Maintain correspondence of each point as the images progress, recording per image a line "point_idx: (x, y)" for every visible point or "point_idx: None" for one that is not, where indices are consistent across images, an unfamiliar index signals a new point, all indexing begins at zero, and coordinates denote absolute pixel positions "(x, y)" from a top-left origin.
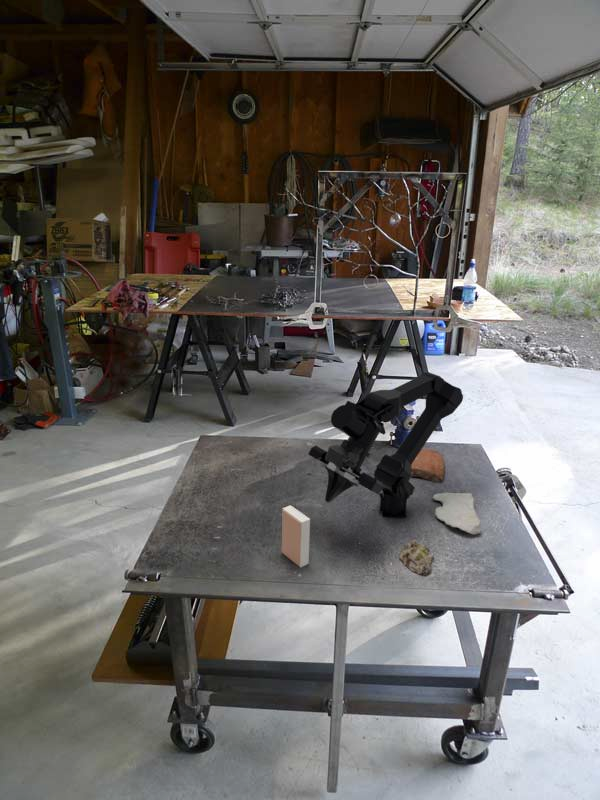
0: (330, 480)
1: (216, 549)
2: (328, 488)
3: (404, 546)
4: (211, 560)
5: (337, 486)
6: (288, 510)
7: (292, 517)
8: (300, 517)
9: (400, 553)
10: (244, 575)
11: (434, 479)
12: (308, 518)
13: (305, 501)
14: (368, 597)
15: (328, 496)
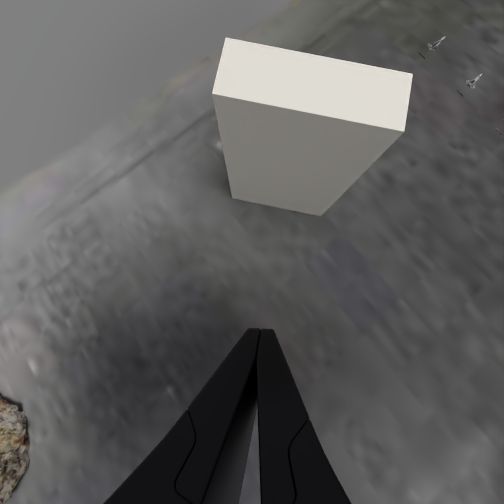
0: (305, 494)
1: (469, 81)
2: (284, 399)
3: (3, 465)
4: (439, 40)
5: (178, 456)
6: (370, 79)
7: (308, 56)
8: (265, 69)
9: (13, 425)
10: (330, 53)
11: None
12: (222, 90)
13: (476, 480)
14: (18, 192)
15: (255, 350)
